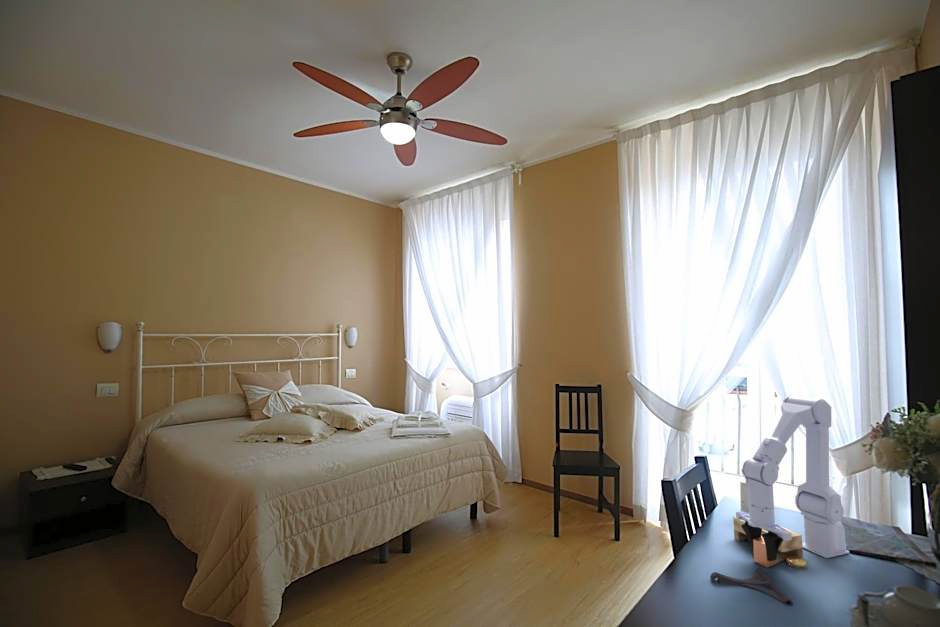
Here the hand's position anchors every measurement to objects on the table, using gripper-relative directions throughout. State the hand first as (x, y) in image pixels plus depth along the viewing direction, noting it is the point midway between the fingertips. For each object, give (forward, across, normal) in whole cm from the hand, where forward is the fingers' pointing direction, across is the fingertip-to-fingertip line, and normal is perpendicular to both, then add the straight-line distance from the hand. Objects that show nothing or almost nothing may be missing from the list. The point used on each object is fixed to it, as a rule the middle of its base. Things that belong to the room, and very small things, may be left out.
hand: (763, 556), depth 116 cm
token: (+2, +3, +8) cm, 9 cm away
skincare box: (+2, -23, +23) cm, 33 cm away
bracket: (+3, +5, -14) cm, 15 cm away
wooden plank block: (+2, -6, +9) cm, 11 cm away
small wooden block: (+2, -1, +4) cm, 5 cm away
